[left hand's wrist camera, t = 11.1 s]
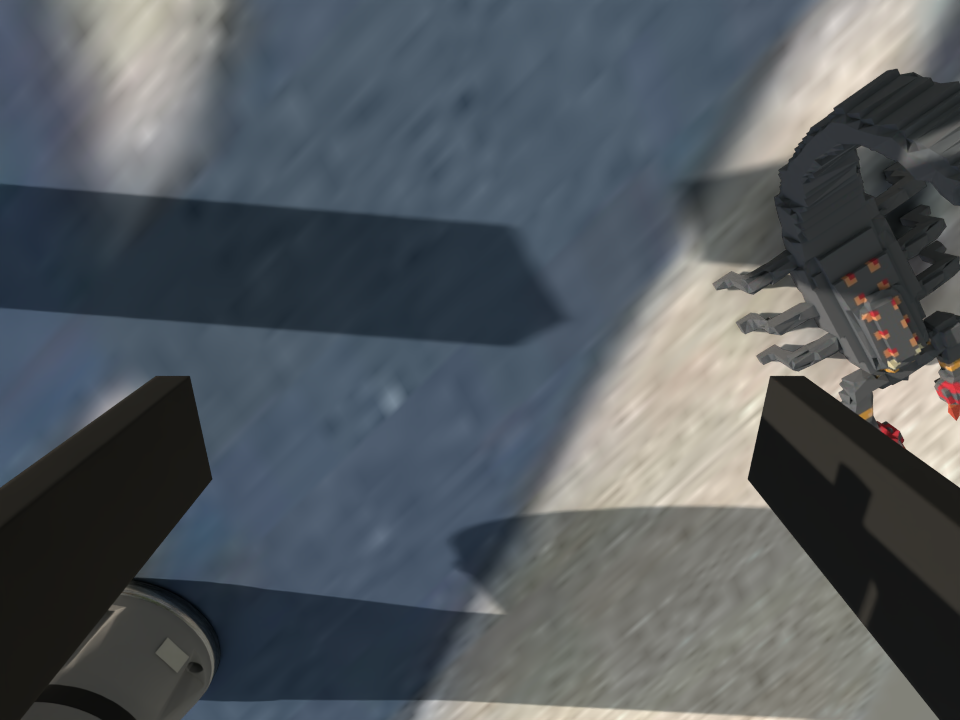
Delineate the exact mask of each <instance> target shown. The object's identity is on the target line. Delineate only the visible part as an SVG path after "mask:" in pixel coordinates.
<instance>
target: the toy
mask: <svg viewBox="0 0 960 720" xmlns="http://www.w3.org/2000/svg"><path fill="white" fill-rule="evenodd" d="M806 134H807V136H805V137H804V138H803V139H802V140H803V141H802V142H800V143H799V144H798V145H799V146H798V147H796V148H795V151H796V152H795V153H794V154H793V157H792V158H790V159H789V163H788V164H787V165H785V166H784V167H782V168H781V169H779V172H780V173H779V174H778V175H779V177H780V179H781V181H782V182H780V184H781V186H780V190H781V191H780V193H779V194H778V195H777V196H775V197H774V199H775V205H776V209H777V213H778V217H779V220H780V223H781V226H782V238H783V241H784V245H785V248H786V250H785V251H784V252H783V253H781V254H780V255H778V256H777V257H775V258H774V259H773V260H771V261H770V262H768V263H767V264H765V265H763V266H761V267H759V268H758V269H756V270H754V271H752V272H751V273H749V274H747V275H739V274H737V273H734V272H732V271H731V272H730V273H728V274H727V275H725V276H724V277H722V278H721V279H719V280H718V281H716V282H714V283H713V285H714V287H715V289H716V290H721V289H726V288H729V287H732V286H734V287H736V288H739V289H741V290H743V291H745V292H747V293H749V294H753V295H754V294H755V293H757V292H758V291H760V290H761V289H763V288H764V287H766V286H767V285H769V284H772V285H773V284H775V283H776V282H777V281H779V280H780V279H782V278H783V277H785V276H786V275H787V274H789V273H790V274H791V276H792V278H793V280H794V282H795V284H796V286H797V288H798V290H799V291H800V292H801V293H802V294H803V297H804V299H805V303H799V304H798V305H796V306H794V307H792V308H790V309H789V310H787V311H785V312H783V313H781V314H780V315H778V316H776V317H774V318H772V319H771V318H770V317H768V318H767V319H766V320H765V319H764V318H763V317H761V316H760V315H759V314H756V313H750V314H748V315H747V316H745V317H743V318H742V319H740V320H739V321H737V322H736V323H737V325H738V327H739V328H740V330H741V331H742V332H743V333H744V334H747V333H749V332H752V331H754V330H756V329H764V330H765V331H767V332H768V333H769V334H776V335H783V334H785V333H786V332H788V331H790V330H791V329H793V328H795V327H797V326H798V325H800V324H802V323H803V322H805V321H807V320H808V319H811V318H814V319H815V321H816V323H817V325H818V327H820V328H822V329H823V330H825V331H827V332H829V333H828V334H826V335H825V336H823V337H821V338H820V339H818V340H816V341H814V342H811V343H809V344H807V345H805V346H803V347H801V348H799V349H797V350H796V351H794V352H791V351H787V350H783V349H781V348H780V347H778V346H776V345H773V346H771V347H770V348H768V349H767V350H765V351H763V352H762V353H760V354H758V355H757V358H758V360H759V361H760V362H761V363H762V364H763V365H764V364H766V363H769V362H771V361H773V360H778V361H780V362H782V363H783V364H785V365H786V366H788V367H789V368H791V369H792V370H794V371H800V370H802V369H805V368H807V367H809V366H811V365H813V364H815V363H817V362H819V361H821V360H823V359H825V358H827V357H829V356H831V355H833V354H834V353H836V352H838V351H839V352H840V353H842V354H844V355H845V356H846V358H847V359H848V360H849V361H850V362H851V363H853V364H854V365H856V366H858V367H859V368H860V369H859V370H857V371H855V372H853V373H851V374H849V375H847V376H845V377H844V378H842V382H841V383H840V386H841V387H842V388H843V390H842V391H841V392H839V395H840V397H841V399H842V402H841V403H842V404H844V405H845V406H846V407H848V408H849V409H851V410H852V411H853V412H855V413H856V414H858V415H859V416H860V417H862V418H863V419H865V420H866V421H867V422H869V423H870V424H872V425H873V426H874V427H876V428H877V429H879V430H880V431H881V432H883V433H884V434H886V435H887V436H888V437H890V438H891V439H892V440H894V441H895V442H897V443H898V444H899V445H901V446H902V447H904V445H903V444H902V443H903V442H904V439H903V437H902V435H901V433H900V431H899V430H897V429H896V428H895V427H893V426H892V425H890V424H889V423H888V422H886V421H885V422H884V423H882V424H881V423H880V422H878V421H876V420H875V418H874V416H873V393H872V391H874V390H875V389H877V388H881V389H884V388H886V387H888V386H890V385H894V384H896V383H898V382H900V381H902V380H908V378H909V375H910V374H912V373H913V372H915V371H916V370H918V369H919V368H921V367H922V366H924V365H925V364H927V363H928V362H930V361H931V360H933V359H934V358H935V357H937V359H938V362H939V364H940V366H941V369H940V370H939V372H938V373H939V375H940V378H939V379H937V380H935V381H934V382H935V383H936V385H935V386H934V387H935V389H936V391H937V393H938V395H939V397H940V399H941V400H943V401H945V402H947V403H948V405H949V406H948V413H949V414H950V415H951V416H952V417H953V418H954V419H955V420H956V421H957V419H958V417H959V415H960V316H958V315H954V314H952V313H946V312H940V311H936V312H935V313H933V314H932V315H930V316H929V317H927V318H926V319H924V320H922V319H923V318H925V317H926V315H925V313H924V311H923V309H922V307H921V304H920V302H919V300H921V299H922V298H924V297H925V296H927V295H928V294H930V293H931V292H933V291H934V290H936V289H937V288H938V287H940V286H941V285H942V284H944V283H945V282H946V281H948V280H949V279H950V278H952V277H953V276H954V275H955V274H956V273H957V272H958V271H959V270H960V264H959V257H958V256H954V255H950V254H945V253H944V252H945V251H946V248H945V247H944V245H943V244H942V243H940V242H938V241H935V242H934V243H932V244H931V245H929V246H928V247H926V248H925V249H923V248H924V247H925V246H926V245H928V244H930V243H931V242H933V241H934V240H936V239H937V238H938V237H939V236H940V234H941V233H942V232H943V230H944V229H945V228H946V227H947V226H946V224H945V222H944V219H942V218H936V217H930V216H929V215H930V214H931V211H930V207H929V206H925V205H920V206H918V207H917V208H915V209H913V210H912V211H910V212H909V213H907V214H906V215H904V216H902V217H901V218H899V219H900V221H901V223H902V225H903V226H907V227H913V229H912V230H910V231H909V232H908V233H906V234H905V235H903V236H902V237H901V238H899V239H898V240H896V238H895V236H894V234H893V232H892V230H891V228H890V226H889V224H888V222H887V220H886V218H885V217H884V216H885V215H886V214H888V213H889V212H891V211H892V210H894V209H895V208H897V207H898V206H900V205H901V204H902V203H904V202H905V201H907V200H908V199H910V198H911V197H912V196H914V195H915V194H917V193H918V192H919V191H921V190H922V189H923V188H925V187H926V186H927V185H926V183H925V181H927V182H931V183H932V184H933V185H934V187H935V188H936V189H937V191H938V192H939V193H940V194H941V195H942V196H943V197H944V198H946V199H947V200H948V201H949V202H951V203H952V204H953V205H958V206H960V83H959V81H957V82H949V83H937V82H933V81H932V79H931V78H928V77H922V76H920V75H918V74H916V73H914V72H912V73H906V74H901V75H900V73H899V71H898V69H893V70H887V71H886V72H884V73H883V74H882V75H880V76H879V77H877V78H876V79H874V80H873V81H872V82H870V83H869V84H867V85H866V86H864V87H863V88H862V89H860V90H859V91H857V92H856V93H854V94H853V95H852V96H850V97H849V98H847V99H846V100H845V101H843V102H842V103H840V104H839V105H837V106H836V107H835V108H834V111H833V112H832V113H830V114H829V115H828V116H827V117H825V118H824V119H823V120H821V121H820V122H818V123H817V124H815V125H814V126H813V127H811V128H810V131H809V132H808V133H806ZM861 145H862V146H864V147H867V148H870V150H873V151H877V152H879V153H881V154H883V155H884V156H886V157H887V158H889V159H892V160H895V161H898V162H896V163H895V164H893V165H892V166H890V167H889V168H887V169H886V170H884V173H885V175H886V177H887V179H886V181H888V182H889V183H891V184H893V186H891V187H890V188H889V189H888V190H887V191H886V192H884V193H883V194H881V195H880V196H878V197H877V198H875V199H874V197H873V196H871V195H868V194H866V193H864V187H863V181H862V178H861V174H860V165H859V161H858V160H860V159H859V157H858V155H857V151H856V148H858V147H860V146H861ZM922 249H923V250H922ZM921 250H922V251H921ZM918 254H919V256H920V257H921V259H922V260H923V261H925V262H928V263H931V264H933V265H932V266H930V267H929V268H927V269H926V270H925V271H923V272H922V273H920V274H919V275H917V276H915V274H914V272H913V270H912V268H911V267H910V265H909V263H908V261H907V260H909V259H911V258H913V257H915V256H917V255H918ZM904 448H905V447H904ZM905 449H906V448H905Z"/></svg>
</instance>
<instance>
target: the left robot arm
mask: <svg viewBox="0 0 960 720" xmlns="http://www.w3.org/2000/svg"><path fill="white" fill-rule="evenodd" d="M211 480H212V476H211V471H210V466H209V462H208V457H207V453H206V448H205V444H204V439H203V434H202V430H201V425H200V421H199V416H198V411H197V407H196V402H195V398H194V393H193V389H192V384H191V379H190V376H155V377H154V378H153V379H151V380H150V381H148V382H147V383H146V384H144V385H143V386H141V387H140V388H139V389H137V390H136V391H134V392H133V393H132V394H130V395H129V396H127V397H126V398H125V399H123V400H122V401H120V402H119V403H118V404H116V405H115V406H114V407H112V408H111V409H109V410H108V411H107V412H105V413H104V414H102V415H101V416H100V417H98V418H97V419H95V420H94V421H93V422H91V423H90V424H88V425H87V426H86V427H84V428H83V429H81V430H80V431H79V432H77V433H76V434H74V435H73V436H72V437H70V438H69V439H68V440H66V441H65V442H63V443H62V444H61V445H59V446H58V447H56V448H55V449H54V450H52V451H51V452H49V453H48V454H47V455H45V456H44V457H42V458H41V459H40V460H38V461H37V462H35V463H34V464H33V465H31V466H30V467H29V468H27V469H26V470H24V471H23V472H22V473H20V474H19V475H17V476H16V477H15V478H13V479H12V480H10V481H9V482H8V483H6V484H5V485H3V486H2V487H1V488H0V720H181V719H182V718H183V717H184V716H185V714H186V713H187V712H188V711H189V710H190V709H191V708H192V707H193V706H194V705H195V704H196V703H197V702H198V700H199V699H200V698H201V697H202V696H203V694H204V693H205V692H206V690H207V688H208V687H209V685H210V683H211V681H212V679H213V677H214V675H215V673H216V671H217V668H218V666H219V661H220V646H219V642H218V639H217V636H216V634H215V632H214V630H213V628H212V626H211V625H210V624H209V622H208V621H207V619H206V618H205V617H204V616H203V615H202V614H201V613H200V612H199V611H198V610H197V609H196V608H195V607H193V606H192V605H191V604H190V603H188V602H187V601H185V600H184V599H182V598H181V597H179V596H177V595H175V594H173V593H171V592H169V591H167V590H165V589H162V588H160V587H157V586H154V585H151V584H147V583H144V582H139V581H133V580H132V579H133V578H134V577H135V576H136V574H137V573H138V572H139V570H140V569H141V568H142V567H143V565H144V564H145V563H146V562H147V560H148V559H149V558H150V557H151V555H152V554H153V553H154V552H155V550H156V549H157V548H158V547H159V545H160V544H161V543H162V542H163V540H164V539H165V538H166V537H167V535H168V534H169V533H170V532H171V530H172V529H173V528H174V527H175V525H176V524H177V523H178V522H179V520H180V519H181V518H182V517H183V515H184V514H185V513H186V512H187V510H188V509H189V508H190V507H191V505H192V504H193V503H194V502H195V500H196V499H197V498H198V497H199V495H200V494H201V493H202V491H203V490H204V489H205V488H206V486H207V485H208V484H209V483H210V481H211ZM748 480H749V481H750V483H751V484H752V485H753V486H754V488H755V489H756V490H757V491H758V493H759V494H760V495H761V497H762V498H763V499H764V500H765V502H766V503H767V504H768V505H769V507H770V508H771V509H772V510H773V512H774V513H775V514H776V515H777V517H778V518H779V519H780V520H781V522H782V523H783V524H784V525H785V527H786V528H787V529H788V530H789V532H790V533H791V534H792V535H793V537H794V538H795V539H796V540H797V542H798V543H799V544H800V545H801V547H802V548H803V549H804V550H805V552H806V553H807V554H808V555H809V557H810V558H811V559H812V560H813V562H814V563H815V564H816V565H817V567H818V568H819V569H820V570H821V572H822V573H823V574H824V576H825V577H826V578H827V579H828V581H829V582H830V583H831V584H832V586H833V587H834V588H835V589H836V591H837V592H838V593H839V594H840V596H841V597H842V598H843V599H844V601H845V602H846V603H847V604H848V606H849V607H850V608H851V609H852V611H853V612H854V613H855V614H856V616H857V617H858V618H859V619H860V621H861V622H862V623H863V624H864V626H865V627H866V628H867V629H868V631H869V632H870V633H871V634H872V636H873V637H874V638H875V639H876V641H877V642H878V643H879V644H880V646H881V647H882V648H883V649H884V651H885V652H886V653H887V654H888V656H889V657H890V658H891V660H892V661H893V662H894V663H895V665H896V666H897V667H898V668H899V670H900V671H901V672H902V673H903V675H904V676H905V677H906V678H907V680H908V681H909V682H910V683H911V685H912V686H913V687H914V688H915V690H916V691H917V692H918V693H919V695H920V696H921V697H922V698H923V700H924V701H925V702H926V703H927V705H928V706H929V707H930V708H931V710H932V711H933V712H934V713H935V715H936V716H937V717H938V718H939V720H960V488H959V487H958V486H957V485H955V484H954V483H952V482H951V481H950V480H948V479H947V478H945V477H944V476H943V475H941V474H940V473H938V472H937V471H936V470H934V469H933V468H931V467H930V466H929V465H927V464H926V463H925V462H923V461H922V460H920V459H919V458H918V457H916V456H915V455H913V454H912V453H911V452H909V451H908V450H906V449H905V448H904V447H902V446H901V445H899V444H898V443H897V442H895V441H894V440H892V439H891V438H890V437H888V436H887V435H886V434H884V433H883V432H881V431H880V430H879V429H877V428H876V427H874V426H873V425H872V424H870V423H869V422H867V421H866V420H865V419H863V418H862V417H860V416H859V415H858V414H856V413H855V412H853V411H852V410H851V409H849V408H848V407H846V406H845V405H844V404H842V403H841V402H840V401H838V400H837V399H835V398H834V397H833V396H831V395H830V394H828V393H827V392H826V391H824V390H823V389H821V388H820V387H819V386H817V385H816V384H814V383H813V382H812V381H810V380H809V379H807V378H806V377H805V376H770V379H769V384H768V389H767V393H766V398H765V402H764V407H763V411H762V416H761V421H760V425H759V430H758V434H757V439H756V444H755V448H754V453H753V457H752V462H751V466H750V471H749V476H748Z"/></svg>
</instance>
